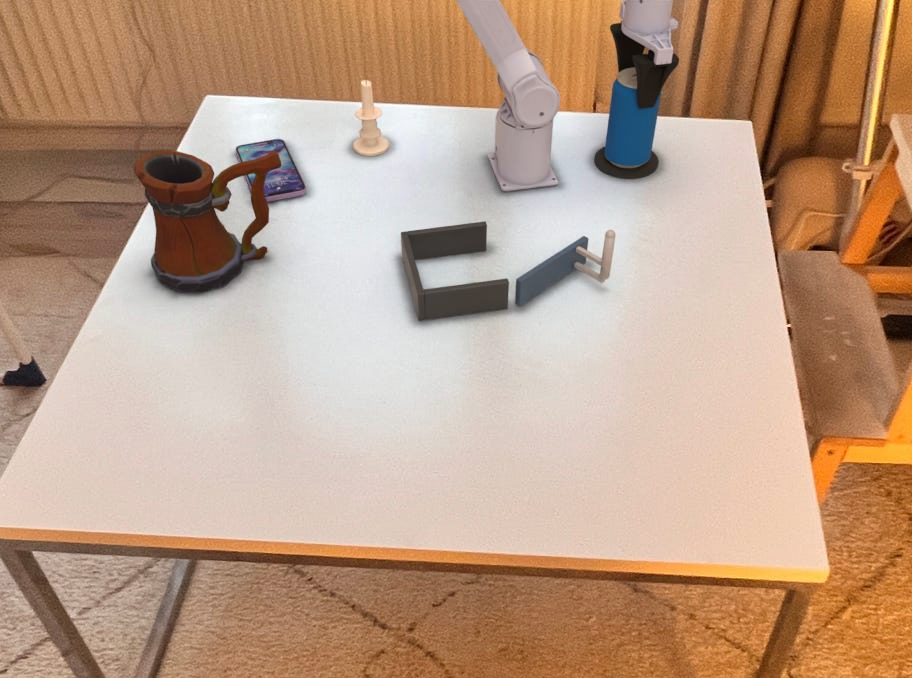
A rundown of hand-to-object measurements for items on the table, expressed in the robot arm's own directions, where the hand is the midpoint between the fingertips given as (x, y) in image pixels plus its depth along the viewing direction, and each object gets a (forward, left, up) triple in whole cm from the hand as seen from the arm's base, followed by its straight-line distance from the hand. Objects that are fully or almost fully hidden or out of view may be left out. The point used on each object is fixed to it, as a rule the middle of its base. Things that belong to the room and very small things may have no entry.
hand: (636, 93), depth 124 cm
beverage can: (0, 0, -10) cm, 10 cm away
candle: (-12, -35, -10) cm, 39 cm away
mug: (+12, -57, -10) cm, 59 cm away
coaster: (0, 0, -10) cm, 10 cm away
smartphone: (-8, -50, -10) cm, 52 cm away
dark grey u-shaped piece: (+22, -29, -10) cm, 38 cm away
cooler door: (+27, -16, -10) cm, 33 cm away
